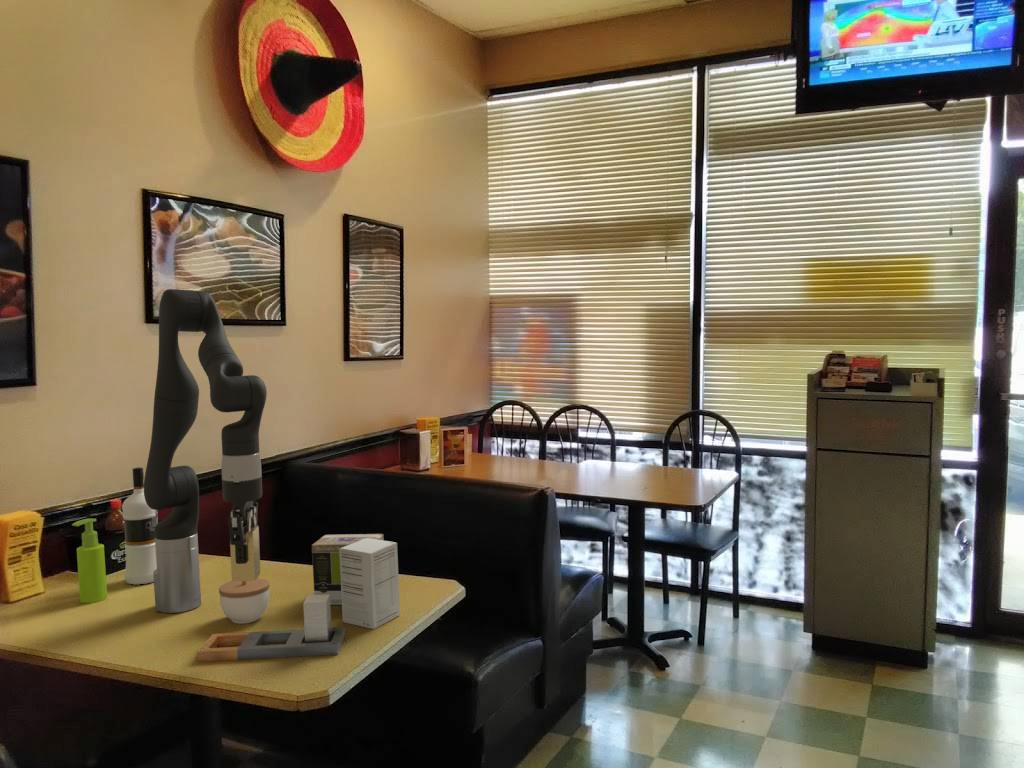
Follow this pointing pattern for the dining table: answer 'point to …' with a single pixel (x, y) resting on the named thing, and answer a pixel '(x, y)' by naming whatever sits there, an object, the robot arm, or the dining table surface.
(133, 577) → the vodka
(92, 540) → the soap dispenser
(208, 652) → the grey flat frame
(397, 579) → the supplement box
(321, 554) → the tea box
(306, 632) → the gray square beam
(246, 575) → the beige rectangular block
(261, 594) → the lidded jar
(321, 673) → the dining table surface
